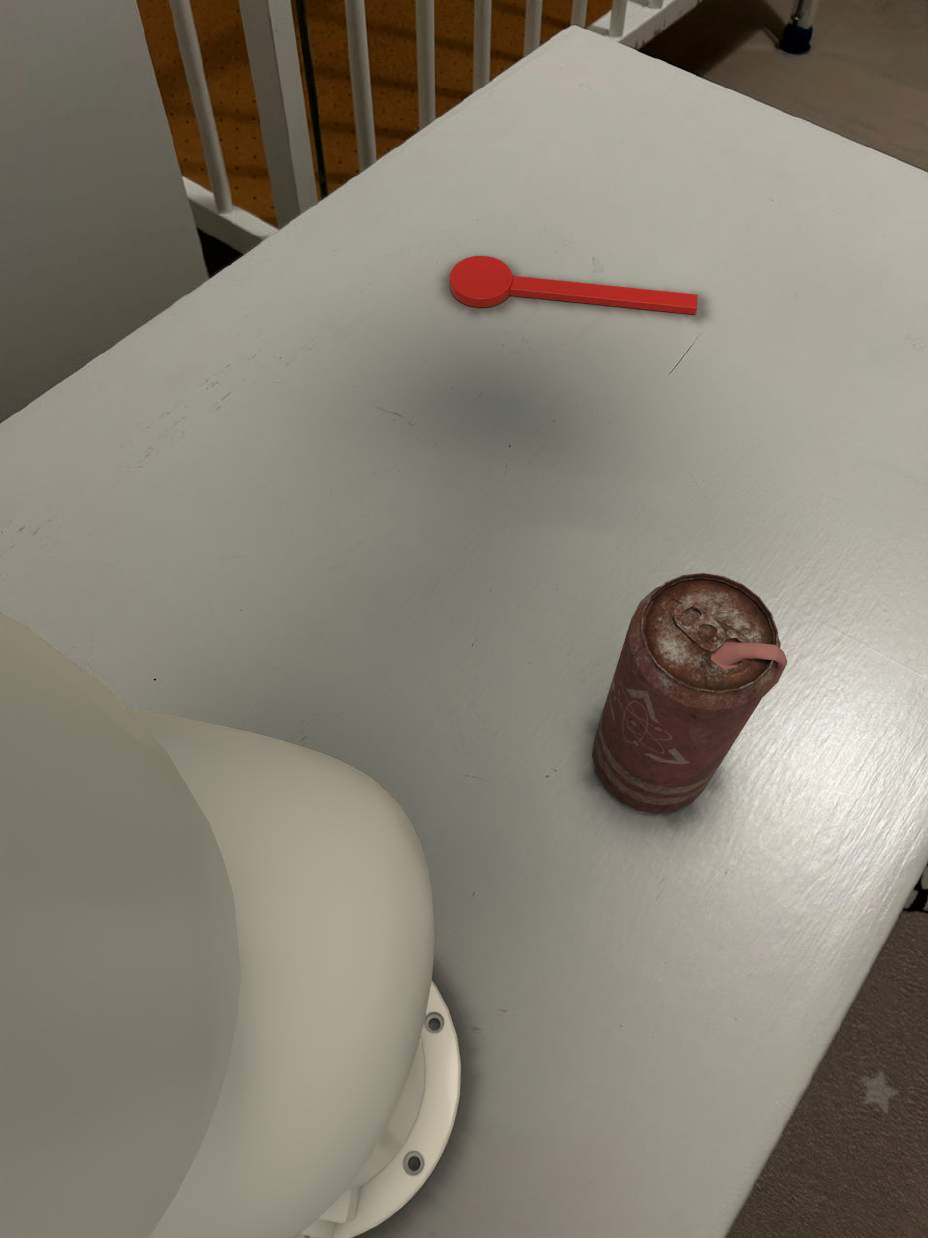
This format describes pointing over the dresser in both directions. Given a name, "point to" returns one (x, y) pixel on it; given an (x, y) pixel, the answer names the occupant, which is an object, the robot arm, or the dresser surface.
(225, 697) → the dresser surface
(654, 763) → the can
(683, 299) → the spoon
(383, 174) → the dresser surface
